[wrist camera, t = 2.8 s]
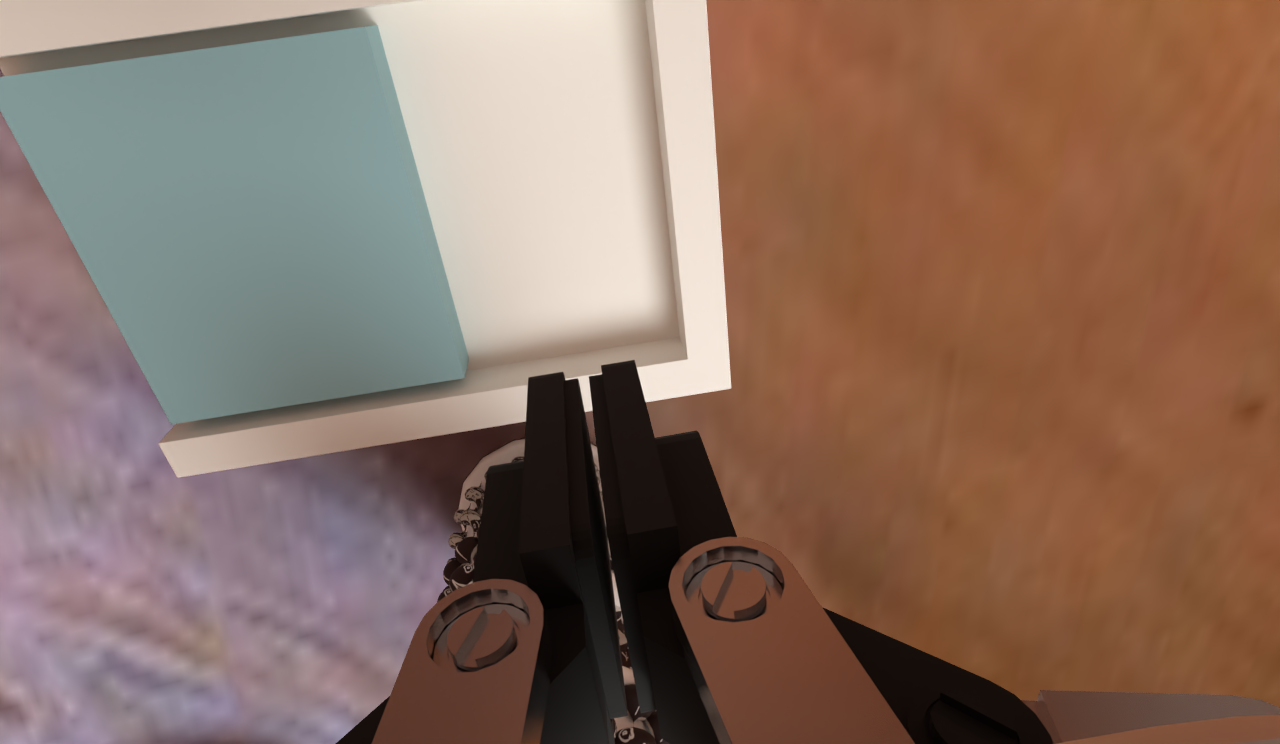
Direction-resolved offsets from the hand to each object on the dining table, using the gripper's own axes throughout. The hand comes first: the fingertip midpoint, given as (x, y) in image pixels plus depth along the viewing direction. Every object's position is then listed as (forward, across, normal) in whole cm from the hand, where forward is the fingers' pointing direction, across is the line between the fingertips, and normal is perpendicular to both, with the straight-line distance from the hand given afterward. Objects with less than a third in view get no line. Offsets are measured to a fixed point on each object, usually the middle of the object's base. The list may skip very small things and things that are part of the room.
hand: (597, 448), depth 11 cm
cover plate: (+16, +10, 0) cm, 19 cm away
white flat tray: (+17, +6, -1) cm, 18 cm away
